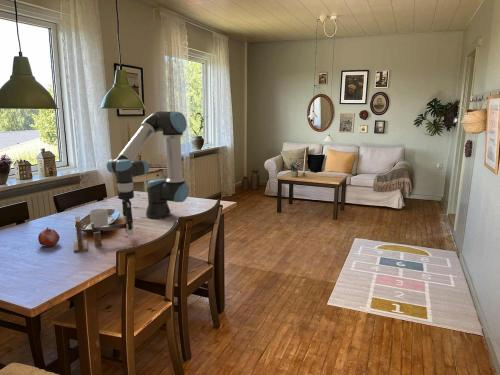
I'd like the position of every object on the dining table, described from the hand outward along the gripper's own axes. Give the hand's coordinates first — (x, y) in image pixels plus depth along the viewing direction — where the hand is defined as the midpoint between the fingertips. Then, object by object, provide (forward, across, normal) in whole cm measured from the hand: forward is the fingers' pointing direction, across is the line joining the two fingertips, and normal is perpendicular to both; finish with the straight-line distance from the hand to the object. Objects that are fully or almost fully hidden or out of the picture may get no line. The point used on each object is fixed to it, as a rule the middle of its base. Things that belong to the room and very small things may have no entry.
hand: (128, 231), depth 190 cm
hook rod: (0, 0, -8) cm, 8 cm away
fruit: (+5, -9, -37) cm, 38 cm away
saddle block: (+5, 0, -15) cm, 16 cm away
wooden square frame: (+5, 0, -23) cm, 23 cm away
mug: (+5, -25, -12) cm, 28 cm away
